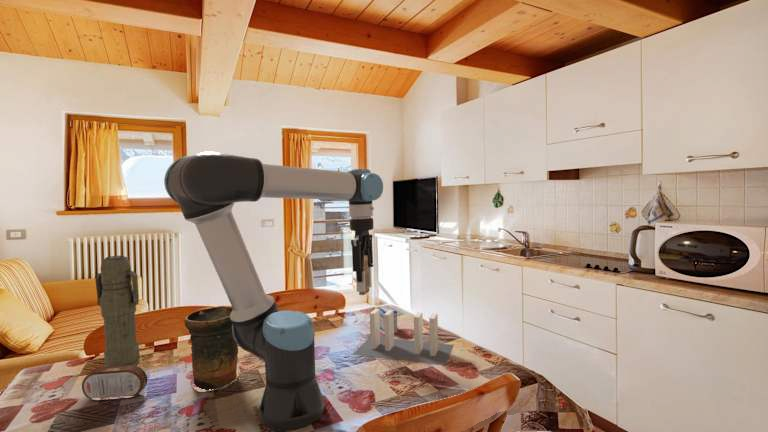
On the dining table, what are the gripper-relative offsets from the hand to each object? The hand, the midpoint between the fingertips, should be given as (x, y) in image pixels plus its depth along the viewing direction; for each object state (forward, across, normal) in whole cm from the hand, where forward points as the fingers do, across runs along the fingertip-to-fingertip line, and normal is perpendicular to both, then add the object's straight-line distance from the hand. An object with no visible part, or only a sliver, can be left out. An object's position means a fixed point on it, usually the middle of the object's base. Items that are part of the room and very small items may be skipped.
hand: (364, 289), depth 128 cm
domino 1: (+21, +4, -2) cm, 21 cm away
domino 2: (+21, +4, -7) cm, 22 cm away
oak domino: (+1, 0, 0) cm, 1 cm away
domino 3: (+21, +4, -17) cm, 27 cm away
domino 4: (+21, +4, -22) cm, 30 cm away
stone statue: (+21, -30, +69) cm, 78 cm away
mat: (+21, +4, -12) cm, 25 cm away
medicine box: (+22, +20, -1) cm, 30 cm away
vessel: (+21, -29, +35) cm, 50 cm away
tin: (+21, -44, +55) cm, 73 cm away
